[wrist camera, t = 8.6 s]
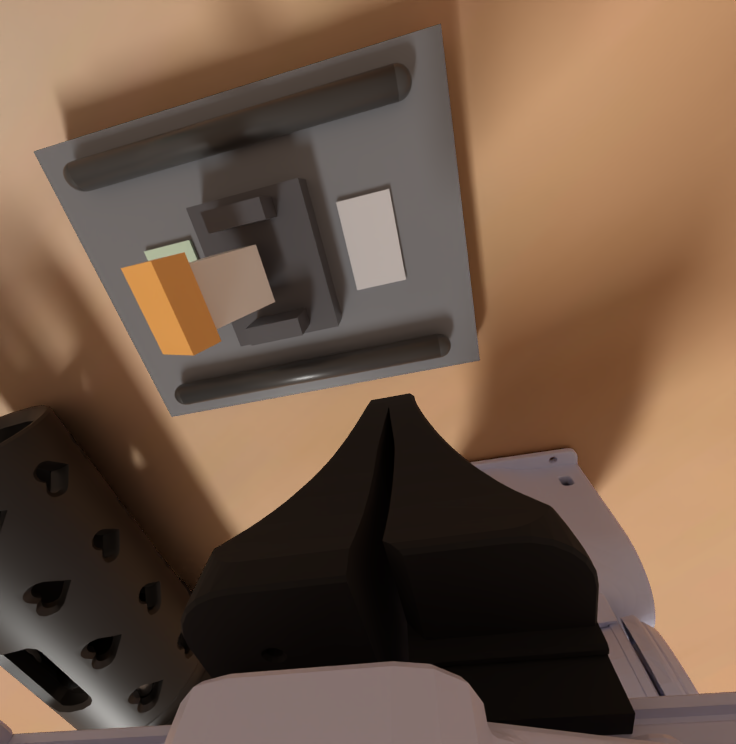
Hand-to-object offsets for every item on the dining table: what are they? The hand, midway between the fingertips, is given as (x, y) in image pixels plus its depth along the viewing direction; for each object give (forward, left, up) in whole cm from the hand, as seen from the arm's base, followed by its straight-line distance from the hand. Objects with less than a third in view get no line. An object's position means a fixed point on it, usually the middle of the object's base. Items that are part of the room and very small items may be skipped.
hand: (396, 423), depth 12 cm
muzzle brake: (+23, +14, -11) cm, 29 cm away
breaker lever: (+5, -5, -6) cm, 9 cm away
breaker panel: (+5, -5, -10) cm, 12 cm away
